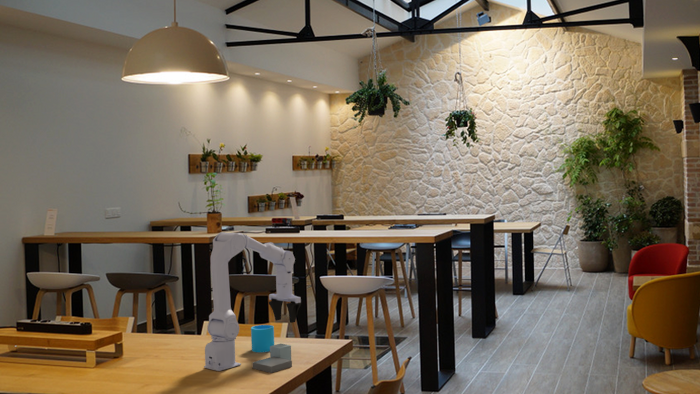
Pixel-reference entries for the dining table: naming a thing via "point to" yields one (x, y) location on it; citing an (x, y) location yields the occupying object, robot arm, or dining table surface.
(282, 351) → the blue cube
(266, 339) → the mug
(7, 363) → the dining table surface
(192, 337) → the dining table surface
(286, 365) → the slate base
